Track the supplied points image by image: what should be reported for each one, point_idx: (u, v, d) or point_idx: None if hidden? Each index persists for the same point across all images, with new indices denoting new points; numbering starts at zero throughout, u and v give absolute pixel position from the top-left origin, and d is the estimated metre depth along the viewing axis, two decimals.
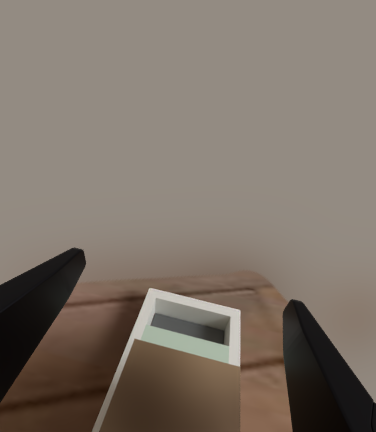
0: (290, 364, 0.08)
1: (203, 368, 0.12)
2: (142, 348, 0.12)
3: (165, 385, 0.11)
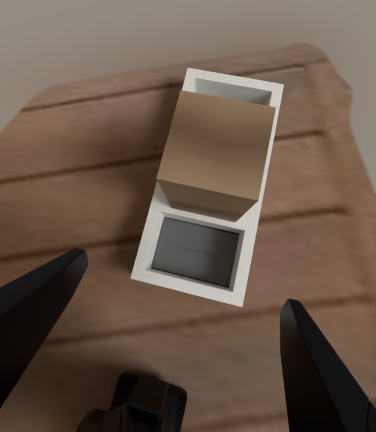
0: (287, 363, 0.08)
1: (242, 109, 0.14)
2: (188, 97, 0.14)
3: (210, 121, 0.14)
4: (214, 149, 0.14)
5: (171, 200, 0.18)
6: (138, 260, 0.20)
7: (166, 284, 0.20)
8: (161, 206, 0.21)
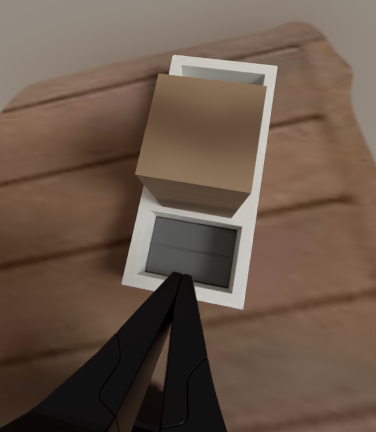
0: (170, 332, 0.08)
1: (229, 90, 0.12)
2: (167, 80, 0.13)
3: (193, 106, 0.12)
4: (198, 138, 0.12)
5: (159, 198, 0.17)
6: (129, 264, 0.19)
7: None
8: (151, 204, 0.20)
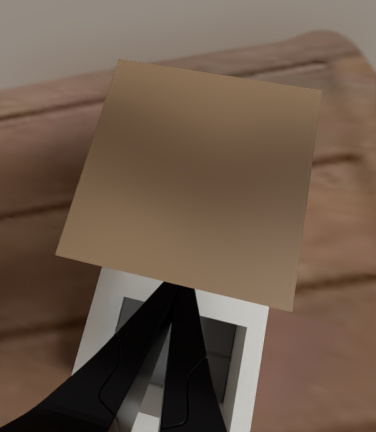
0: (170, 332, 0.08)
1: (249, 96, 0.06)
2: (134, 73, 0.07)
3: (179, 122, 0.06)
4: (186, 186, 0.06)
5: None
6: None
7: None
8: (114, 284, 0.14)
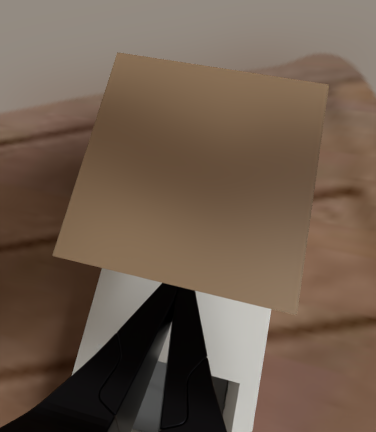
0: (170, 332, 0.08)
1: (252, 90, 0.06)
2: (133, 67, 0.07)
3: (180, 119, 0.06)
4: (188, 184, 0.06)
5: None
6: None
7: None
8: (101, 334, 0.13)
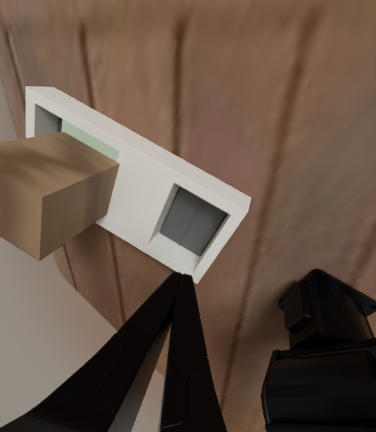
0: (170, 332, 0.08)
1: None
2: None
3: None
4: (10, 215, 0.15)
5: (85, 226, 0.21)
6: None
7: (208, 263, 0.22)
8: (143, 243, 0.24)
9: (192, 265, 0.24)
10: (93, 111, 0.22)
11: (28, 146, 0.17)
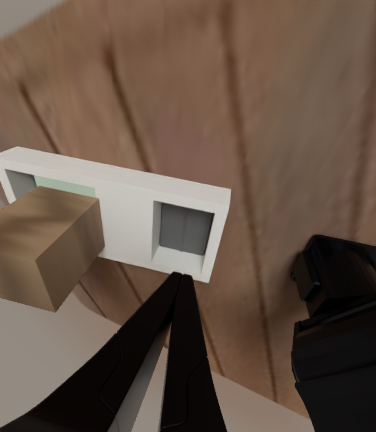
0: (170, 332, 0.08)
1: None
2: None
3: None
4: (15, 281, 0.17)
5: (88, 265, 0.22)
6: (193, 277, 0.25)
7: (211, 261, 0.23)
8: (146, 261, 0.25)
9: (198, 267, 0.25)
10: (59, 157, 0.22)
11: (10, 213, 0.18)
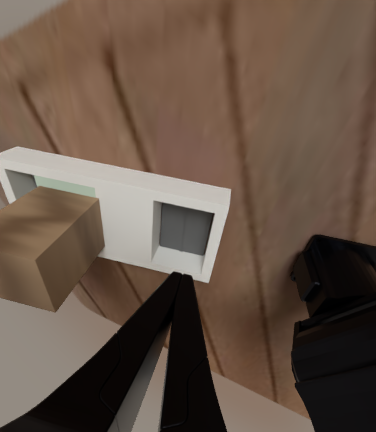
0: (170, 332, 0.08)
1: None
2: None
3: None
4: (15, 281, 0.17)
5: (88, 265, 0.22)
6: (193, 277, 0.25)
7: (211, 261, 0.23)
8: (146, 261, 0.25)
9: (198, 267, 0.25)
10: (59, 157, 0.22)
11: (10, 213, 0.18)
